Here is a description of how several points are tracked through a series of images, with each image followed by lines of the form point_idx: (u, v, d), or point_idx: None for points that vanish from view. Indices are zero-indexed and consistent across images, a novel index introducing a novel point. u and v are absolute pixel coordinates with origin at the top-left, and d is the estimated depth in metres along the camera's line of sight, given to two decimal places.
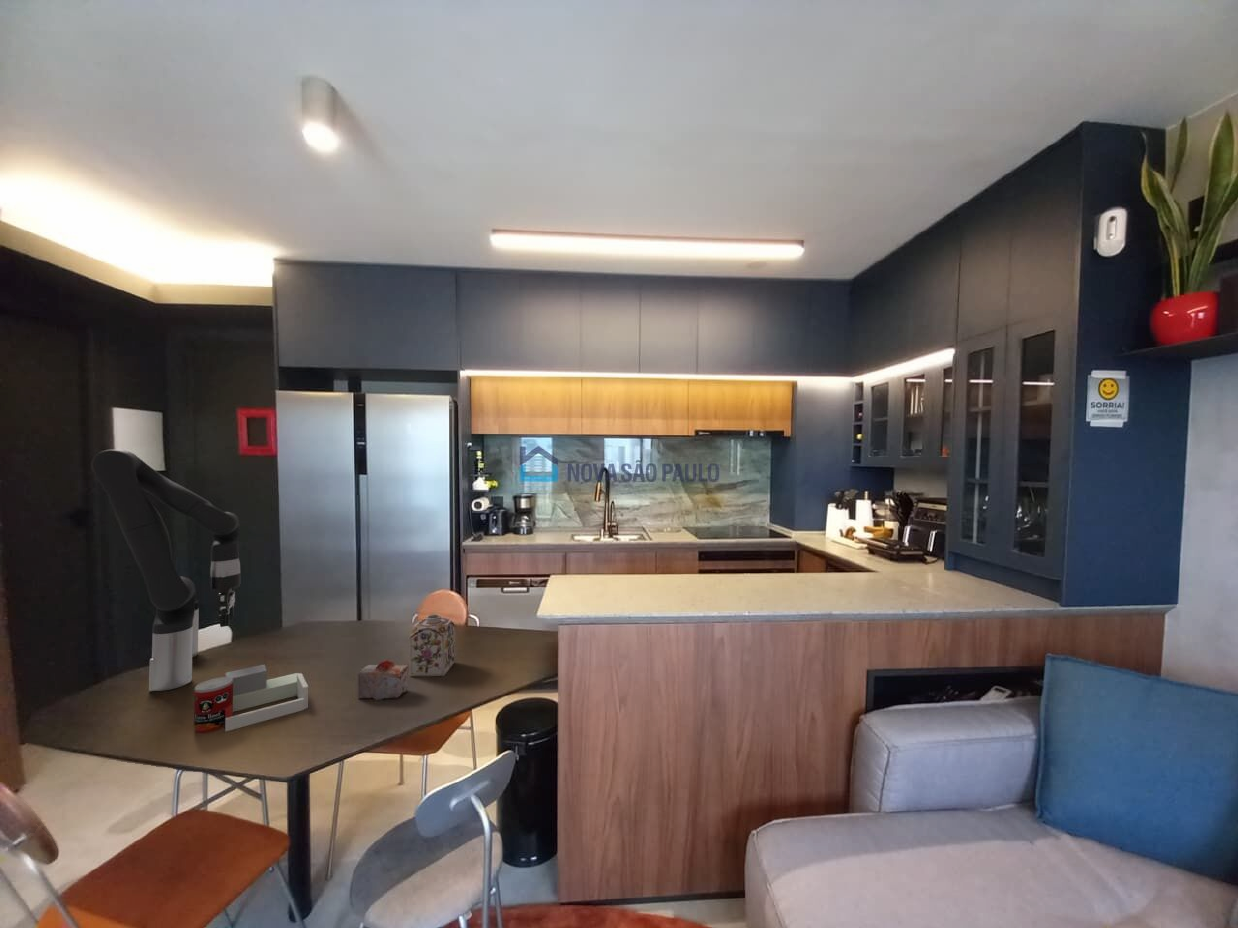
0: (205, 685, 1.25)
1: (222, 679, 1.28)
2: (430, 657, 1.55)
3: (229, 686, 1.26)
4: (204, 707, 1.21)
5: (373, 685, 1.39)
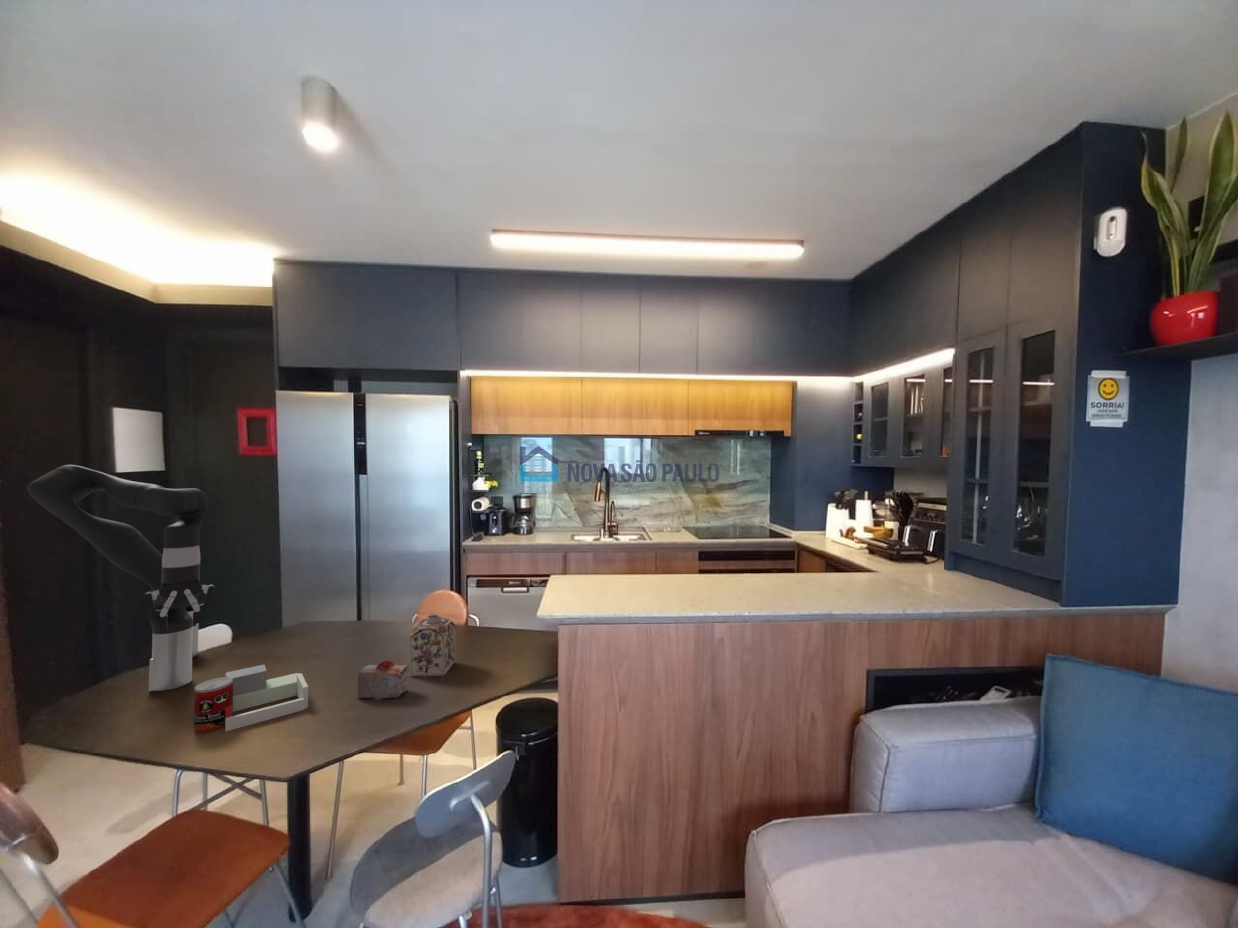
0: (205, 685, 1.25)
1: (222, 679, 1.28)
2: (430, 657, 1.55)
3: (229, 686, 1.26)
4: (204, 707, 1.21)
5: (374, 684, 1.39)
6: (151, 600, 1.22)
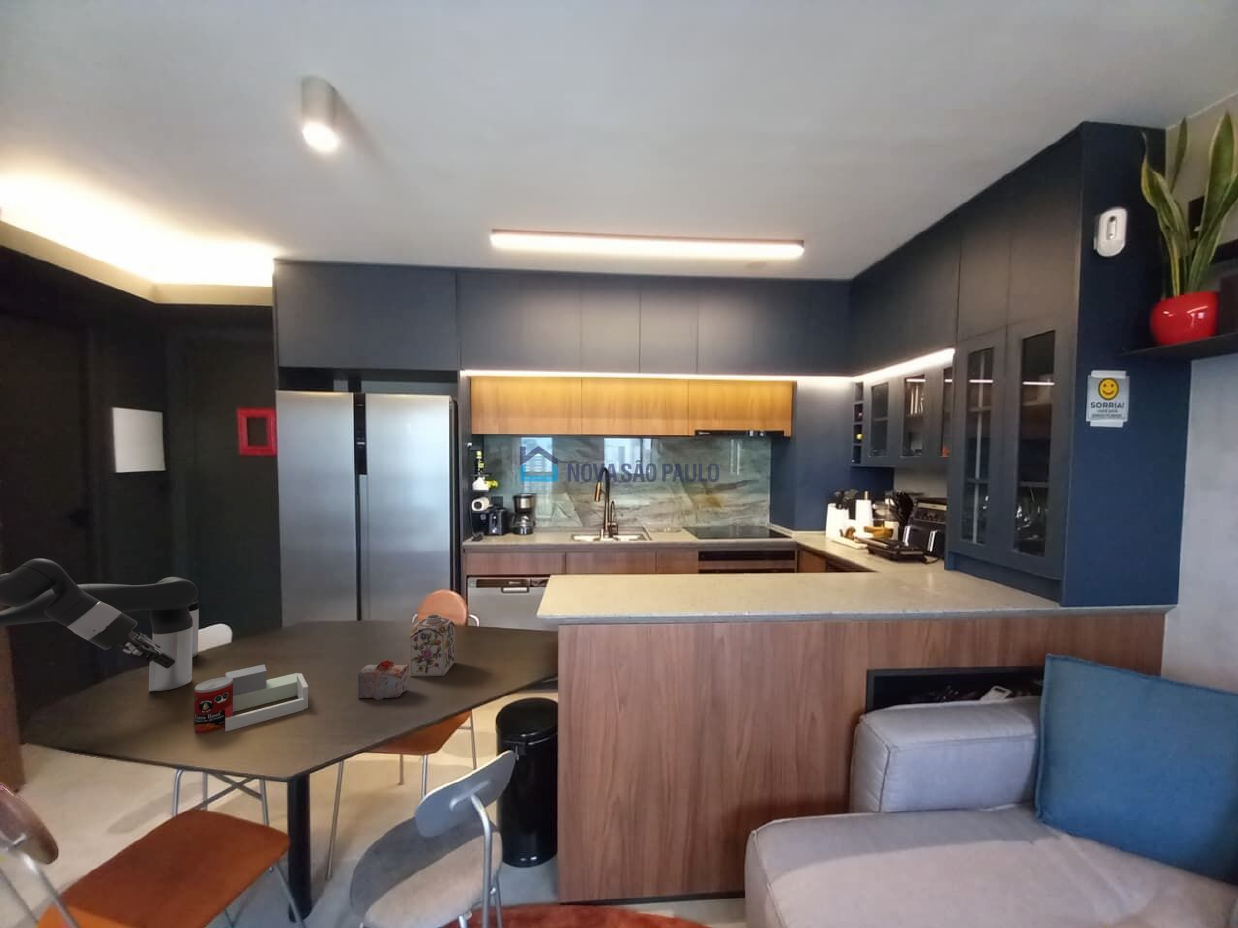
0: (205, 685, 1.25)
1: (222, 679, 1.28)
2: (430, 657, 1.55)
3: (229, 686, 1.26)
4: (204, 707, 1.21)
5: (374, 684, 1.40)
6: None
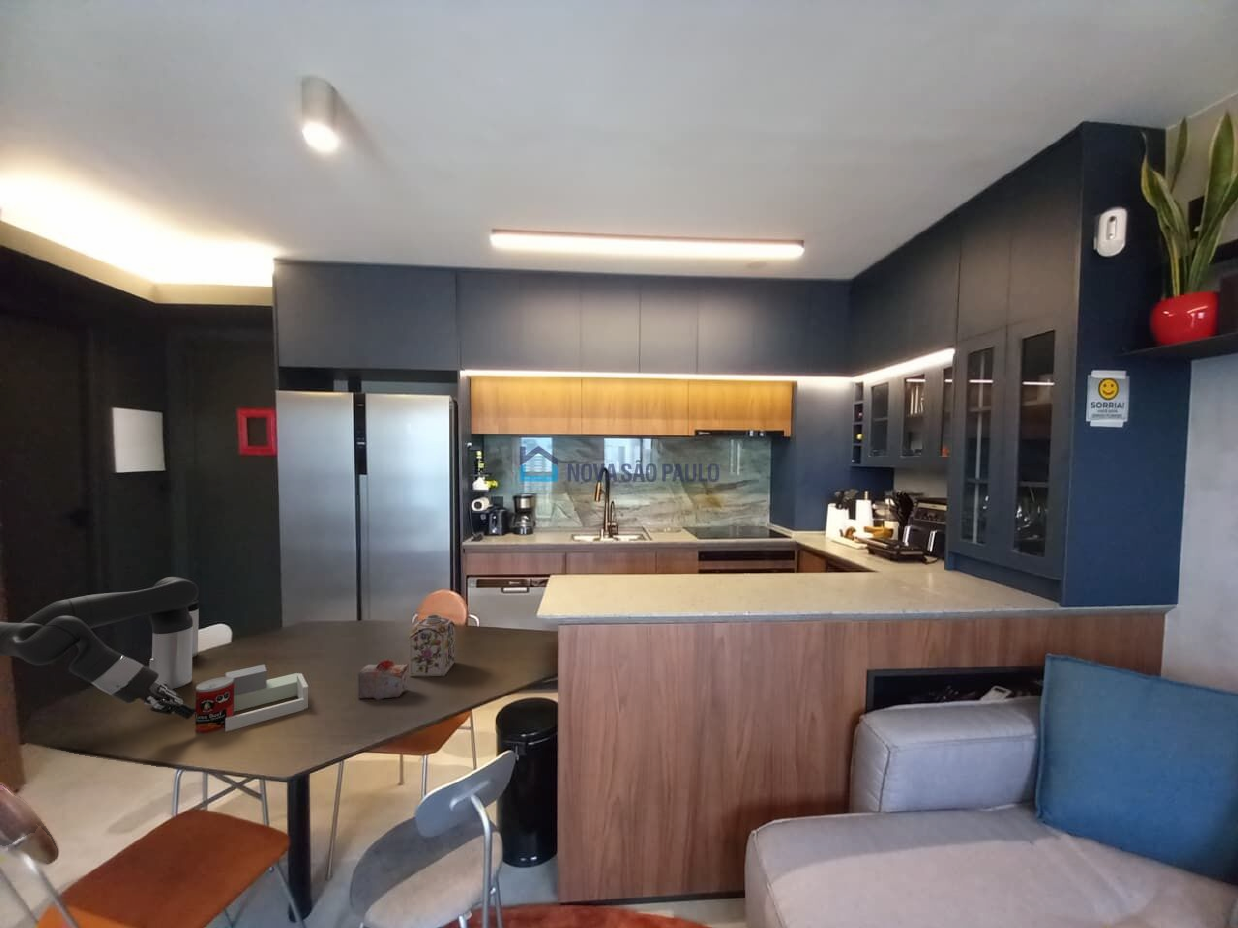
0: (206, 684, 1.25)
1: (223, 679, 1.28)
2: (430, 657, 1.55)
3: (230, 686, 1.26)
4: (205, 707, 1.22)
5: (374, 684, 1.40)
6: None
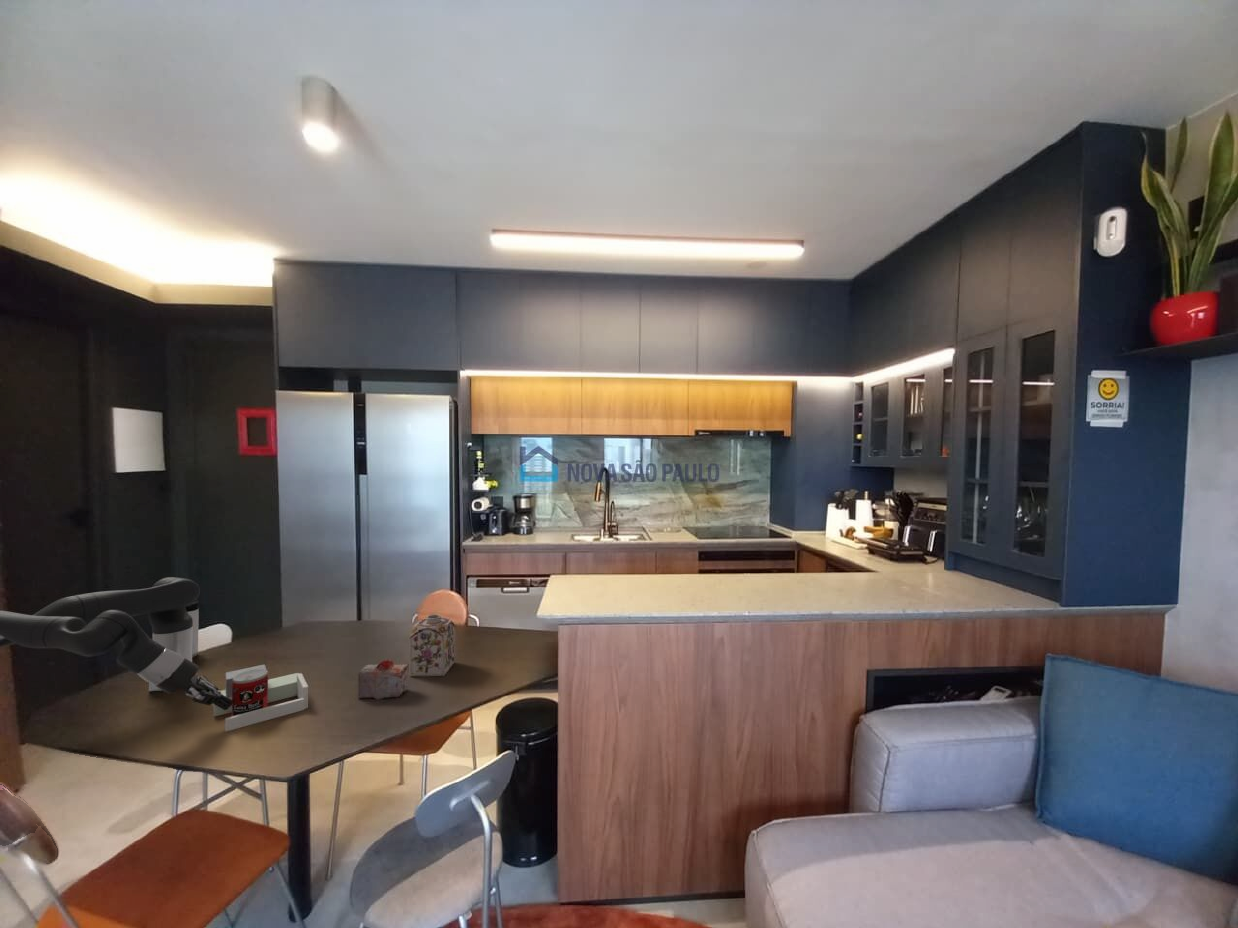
0: (241, 677, 1.30)
1: (256, 671, 1.33)
2: (430, 657, 1.55)
3: (266, 677, 1.31)
4: (244, 697, 1.27)
5: (374, 684, 1.40)
6: None
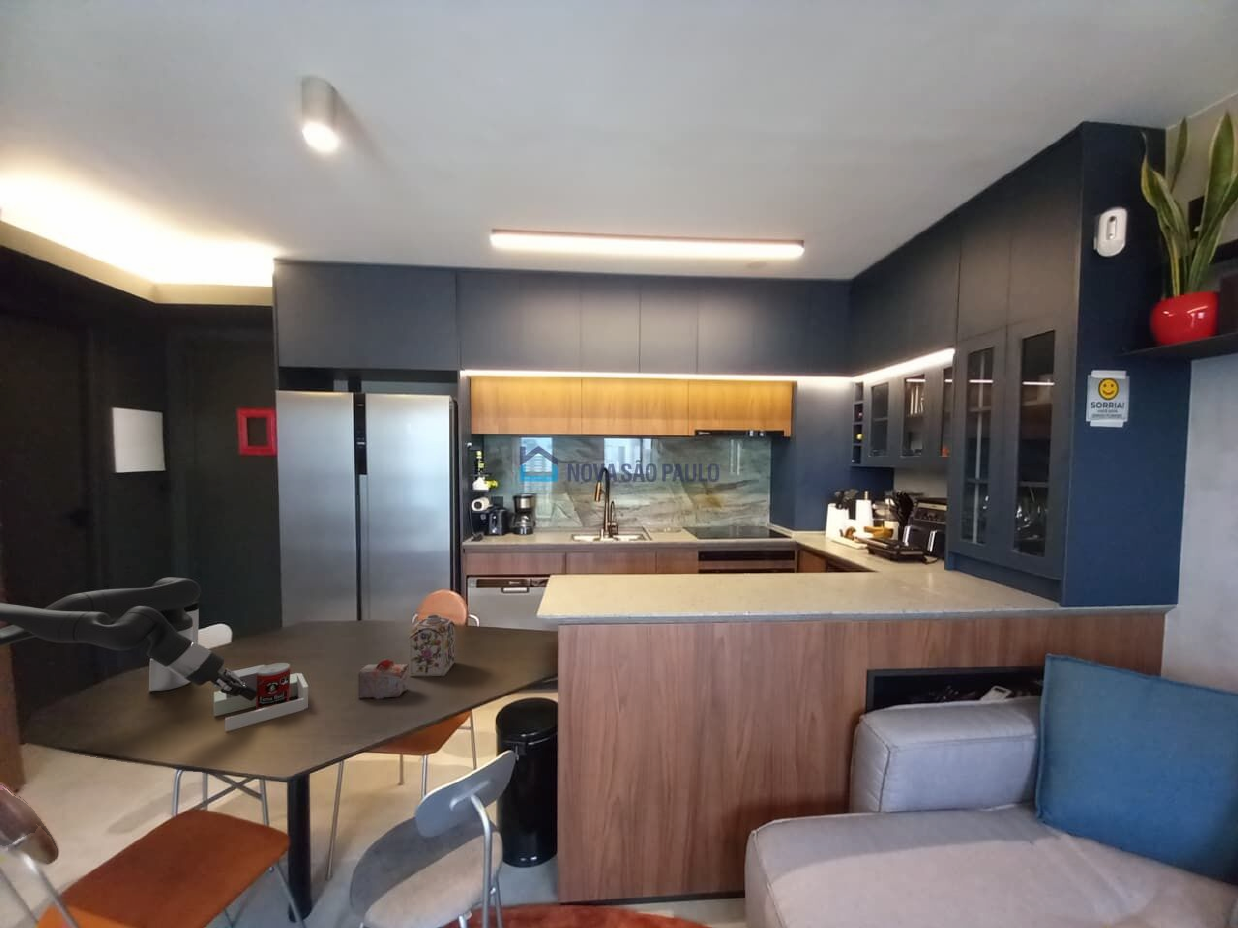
0: (264, 670, 1.34)
1: (277, 664, 1.38)
2: (430, 657, 1.55)
3: (289, 669, 1.36)
4: (271, 689, 1.31)
5: (374, 684, 1.40)
6: None
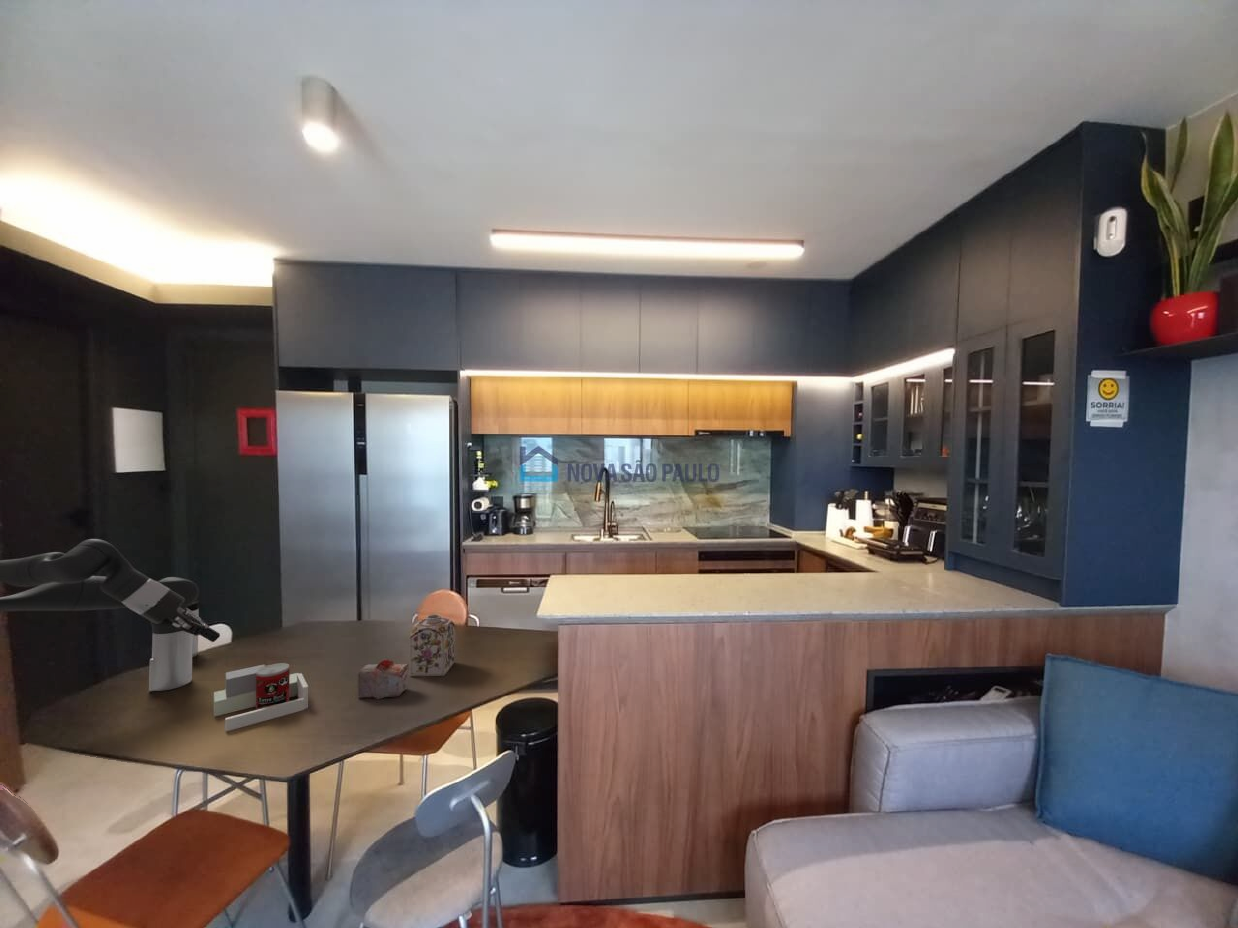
0: (264, 671, 1.34)
1: (277, 665, 1.38)
2: (430, 657, 1.55)
3: (288, 670, 1.36)
4: (270, 690, 1.31)
5: (374, 684, 1.40)
6: None
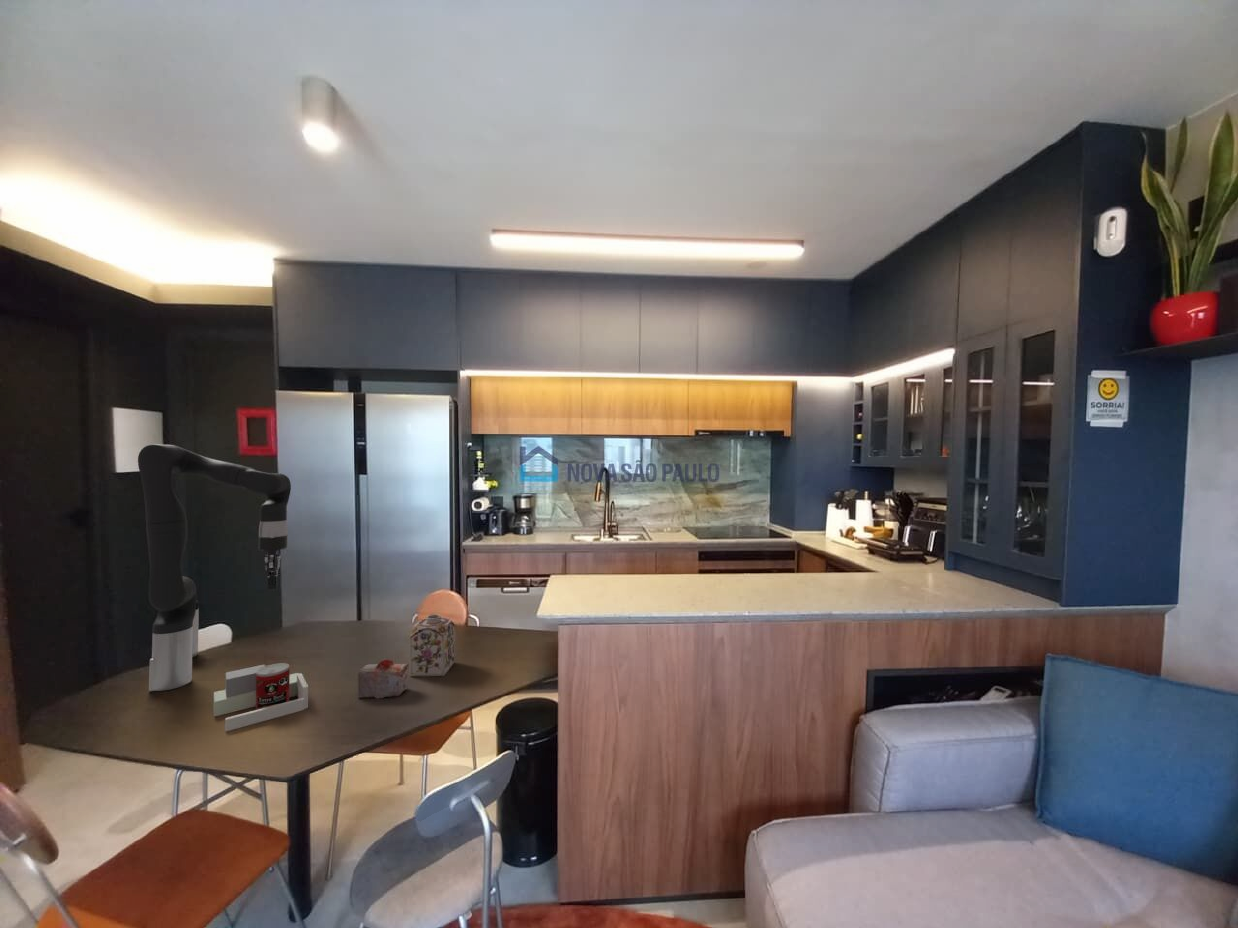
0: (264, 671, 1.34)
1: (277, 665, 1.38)
2: (430, 657, 1.55)
3: (288, 670, 1.36)
4: (270, 690, 1.31)
5: (374, 683, 1.40)
6: None
